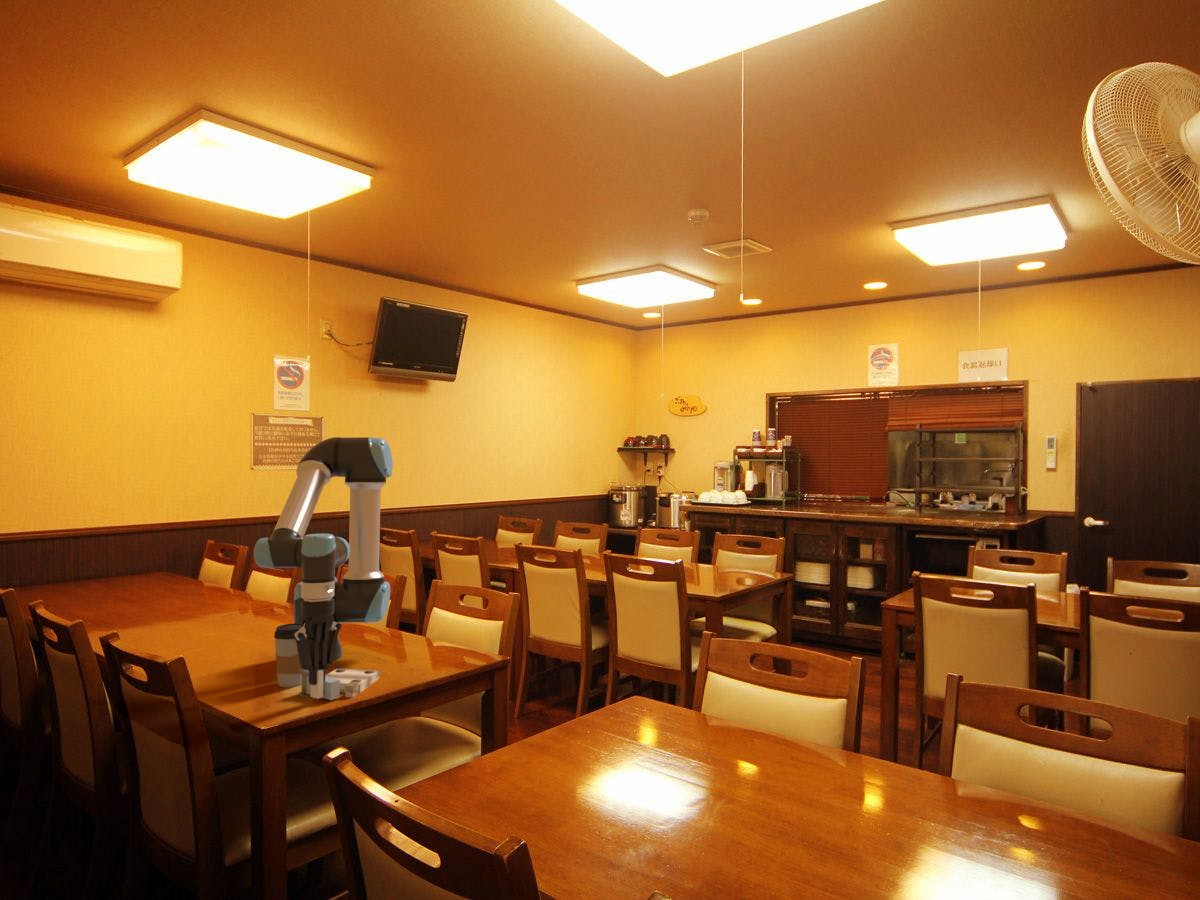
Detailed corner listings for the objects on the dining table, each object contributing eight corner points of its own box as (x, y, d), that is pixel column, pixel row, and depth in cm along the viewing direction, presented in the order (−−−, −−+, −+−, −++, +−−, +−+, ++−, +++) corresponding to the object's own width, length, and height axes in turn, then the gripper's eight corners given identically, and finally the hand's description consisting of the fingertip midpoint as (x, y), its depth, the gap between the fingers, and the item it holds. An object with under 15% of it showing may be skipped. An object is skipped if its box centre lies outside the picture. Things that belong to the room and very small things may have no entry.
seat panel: (327, 677, 201) (327, 665, 201) (379, 679, 200) (379, 667, 200) (295, 697, 185) (295, 684, 185) (352, 700, 184) (352, 686, 184)
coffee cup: (295, 690, 190) (296, 631, 190) (266, 688, 192) (267, 629, 192) (314, 680, 198) (315, 623, 198) (286, 678, 200) (286, 622, 200)
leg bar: (298, 692, 187) (299, 671, 187) (309, 688, 189) (310, 668, 189) (329, 700, 181) (329, 679, 181) (340, 696, 183) (340, 676, 183)
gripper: (306, 604, 174) (305, 707, 173) (350, 595, 185) (348, 692, 185) (284, 601, 177) (283, 702, 177) (328, 593, 189) (327, 687, 188)
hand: (316, 696), depth 181 cm, fingers closed
